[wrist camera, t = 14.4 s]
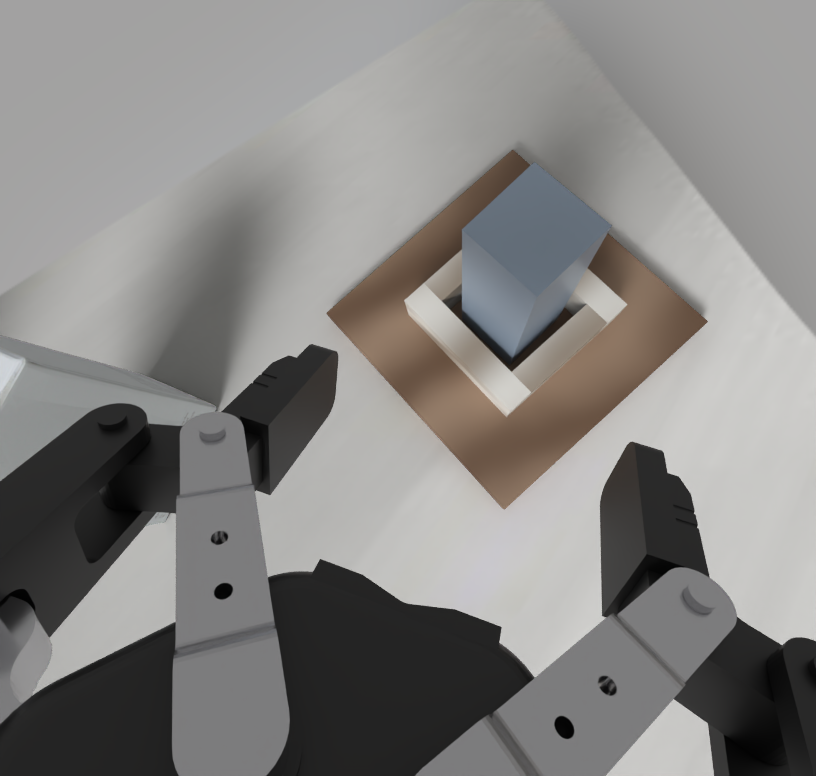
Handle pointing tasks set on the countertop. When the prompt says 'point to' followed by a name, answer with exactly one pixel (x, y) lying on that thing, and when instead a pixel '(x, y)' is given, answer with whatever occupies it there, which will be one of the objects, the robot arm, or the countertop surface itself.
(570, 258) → the plug
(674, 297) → the socket board
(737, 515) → the countertop surface
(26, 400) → the skincare box
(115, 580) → the countertop surface
